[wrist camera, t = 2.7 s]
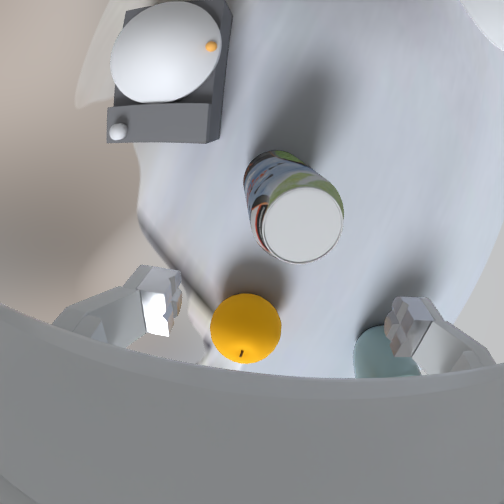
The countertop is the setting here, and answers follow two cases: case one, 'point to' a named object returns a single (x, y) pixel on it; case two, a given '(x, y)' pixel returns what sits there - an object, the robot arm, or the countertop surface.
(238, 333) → the apple
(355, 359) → the cup
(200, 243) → the countertop surface
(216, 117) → the body block
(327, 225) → the beverage can
